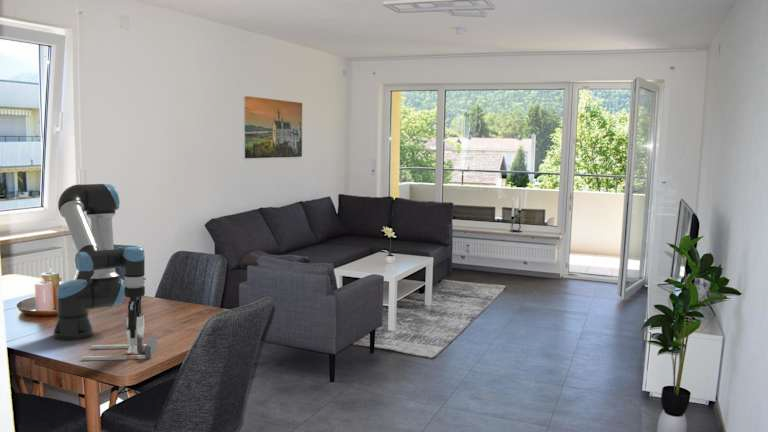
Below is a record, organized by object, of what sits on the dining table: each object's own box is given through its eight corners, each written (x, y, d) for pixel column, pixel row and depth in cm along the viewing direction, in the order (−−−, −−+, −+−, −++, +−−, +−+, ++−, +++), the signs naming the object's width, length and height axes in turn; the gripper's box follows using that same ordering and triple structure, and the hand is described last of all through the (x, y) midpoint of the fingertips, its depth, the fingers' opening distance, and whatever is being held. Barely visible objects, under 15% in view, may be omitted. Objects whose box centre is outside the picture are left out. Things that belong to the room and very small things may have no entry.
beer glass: (147, 349, 258) (146, 313, 256) (141, 355, 251) (140, 318, 249) (129, 348, 258) (129, 312, 256) (123, 354, 251) (122, 317, 249)
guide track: (82, 360, 244) (82, 347, 244) (92, 348, 258) (92, 336, 258) (150, 358, 249) (150, 346, 248) (156, 346, 263) (156, 334, 262)
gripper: (139, 292, 242) (140, 350, 245) (149, 280, 262) (149, 334, 264) (118, 292, 241) (119, 350, 244) (129, 280, 260) (130, 334, 263)
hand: (135, 342), depth 254 cm, fingers closed on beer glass, 7 cm apart
